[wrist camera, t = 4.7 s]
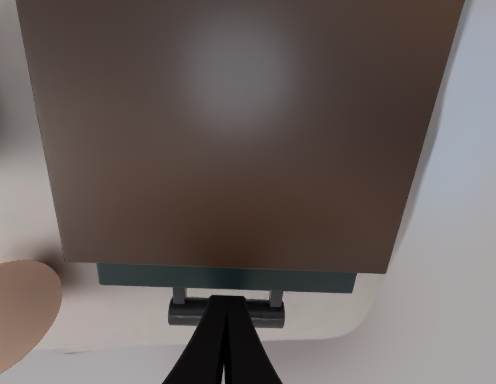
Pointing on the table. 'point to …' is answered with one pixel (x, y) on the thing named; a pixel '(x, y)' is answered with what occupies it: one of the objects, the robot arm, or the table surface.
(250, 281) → the drawer
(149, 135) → the cabinet
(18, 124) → the table surface
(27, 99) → the table surface
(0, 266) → the egg
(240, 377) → the robot arm
